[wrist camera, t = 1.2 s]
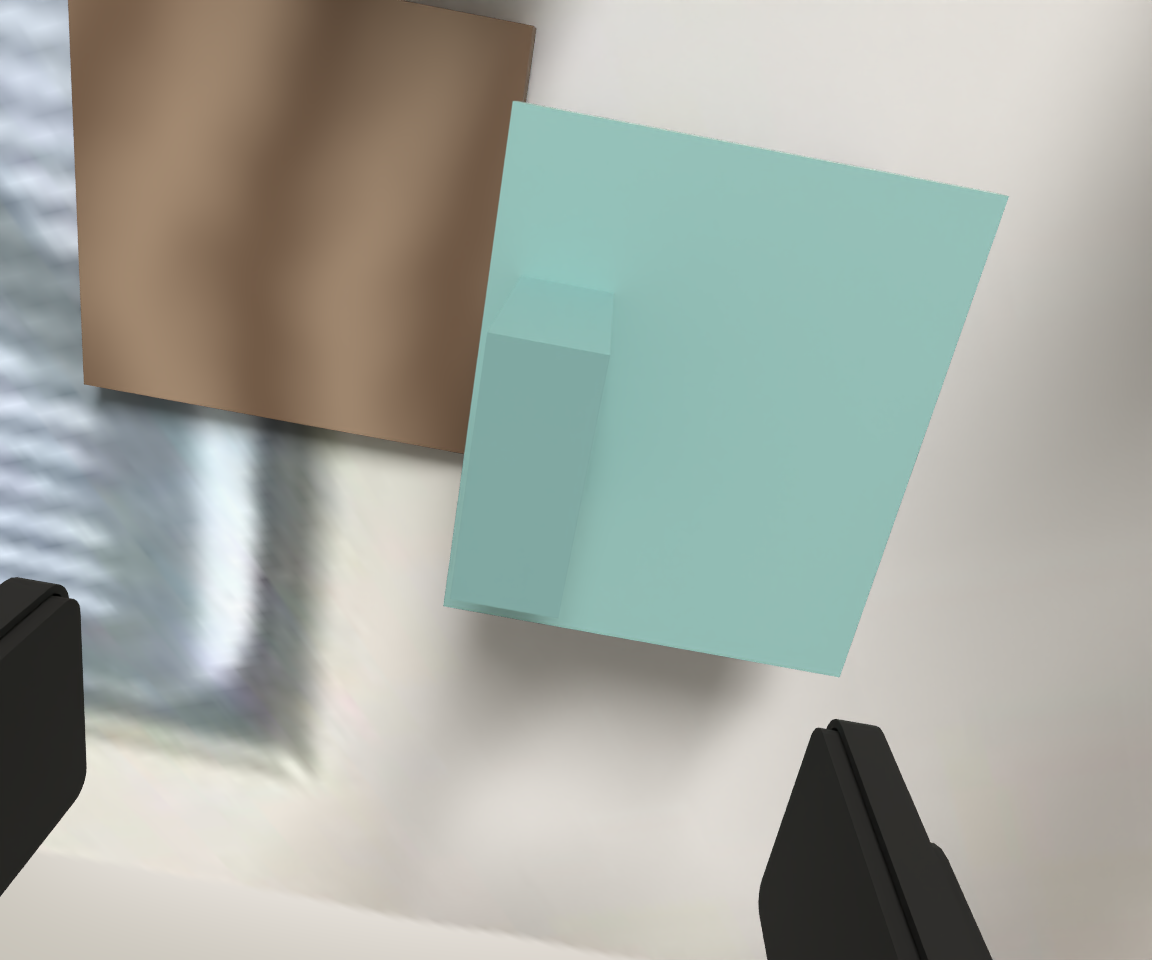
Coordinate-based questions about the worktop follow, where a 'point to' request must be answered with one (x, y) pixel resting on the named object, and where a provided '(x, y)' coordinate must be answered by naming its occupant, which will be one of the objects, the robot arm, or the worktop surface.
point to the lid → (703, 385)
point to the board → (292, 204)
